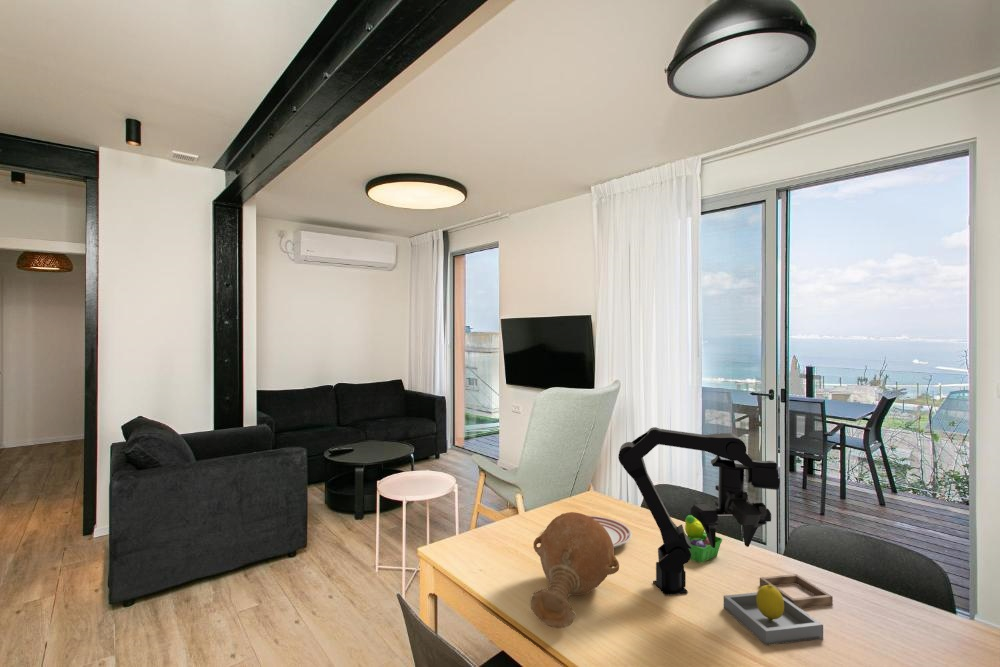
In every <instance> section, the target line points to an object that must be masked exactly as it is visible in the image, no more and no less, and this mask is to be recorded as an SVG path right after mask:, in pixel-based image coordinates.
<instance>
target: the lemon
mask: <svg viewBox="0 0 1000 667" xmlns="http://www.w3.org/2000/svg"><path fill="white" fill-rule="evenodd" d="M757 592H758V593H757V597H756V601H757V606H758V609H759V611H760V612H761V613H762V614H763V615H764V616H765V617H767V618H768V619H769V620H773V619H778V618H780V617H781V616H782V614H783V612H784V601H783V597H782V595H781V593H780V592H779V591H778V590H777V589H776V588H775V587H773V586H772V585H765V586H760V587H759V589H758V591H757Z"/></svg>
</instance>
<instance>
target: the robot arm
mask: <svg viewBox="0 0 1000 667" xmlns="http://www.w3.org/2000/svg"><path fill="white" fill-rule="evenodd" d="M658 445H660V446H667V447H675V448H681V449H688V450H696V451H703V452H705V453H709V454H712V455H714V456H715V458H713V459H712V460H710V464H711V466H712V467H715V468H716V467H717V468H718V485H717V484H716V485H715V488H714V489H715V490H716V491H718V492H717V494H718V498H717V499H718V500H715V502H714V505H715V506H716V507H717V508H713V507H711V506H709V505H707V503H698V504H696V503H695V504H693V505H691V507H690V515H692V516H693V517H695V518H696V519H697V520H698V521H699V522H700V523H701V524H702V526H703V528H704V532H705V533H706V535H707V537H708V540H709V542H710V545H711V547H713V548H715V544H716V537H717V536H716V534H717V533H716V529H717V527H718V526H719V524H718V523H717V521H718V520H719V519H718V518H721V517H722V518H724V517H725V518H726V517H729V518H730V517H734V518H735V520H736V522H737V523H738V524H739V525H740V526H742V537H743V544H744V546H745V547H746V548H748V547H750V545H751V543H752V540H753V538H754V536H755V534H756V531H757V530H758V529H759V528H760V527H761V526H765V525H766V524H767V523H769V522H772V513H771V511H770V509H769V508H767V506H766V504H765V503H763V502H752V501H751V502H750V501H749V495H748V491H745V483H748V484H749V485H750V487H751V488H756V489H762V490H763V489H764V490H774V491H779V488H780V483H781V478H780V476H779V470H778V463H777V462H776V461H774V460H755V459H753V458H752V457H751V456H750V455H749V454H747V446H746V443H745V442H744V441H743V440H742V439H741V438H740V437H739V436H738V435H736V434H734V433H732V432H730V433H729V432H726V433H720V432H719V433H711V434H702V433H701V434H700V433H693V432H685V431H679V430H670V429H664V428H658V426H657V427H655V426H654V427H653V426H652V427H651V428H649V429H648V430H647V431H645V432H644V433H643V434H641V435H639V436H638V437H637V438H636V439H634V440H632V441H628V442H625V443H623V444H622V445H621V446H620V448H619V451H618V456H617V457H618V462H619V463H620V465H621V466H622V467H623V468H624V470H625V471H626V472H627V474H628V475H629V477H631V479H632V480H634V482H635V484H636V486H637V488H638V489H639V492H640V494H641V496H642V498H643V500H644V501H645V503H646V506H647V508H648V509H649V512H650V513H651V515H652V517H653V519H654V522H655V523H656V524H657V528H658V529H659V531H660V535H661V538H662V541H663V544H661V545H660V546H659V547H658V548H657V556H658V558H657V559H658V561H656V562H655V580H653V581H652V582H653V585H654V586H655V587H656V588H657V589H658V590H659V591H660V593H662V594H663V595H665V596H673V595H682V594H688V593H689V591H688V590H687V589H686V584H687V582H686V579H687V578H686V576H687V575H686V573H687V572H686V570H685V565H687V564H688V563H689V562H690V561H691V559H690V558H691V552H690V549H691V544H690V539H689V537H688V535H687V533H686V531H685V528H684V525H683V524H680V525H678V526H677V525H676V524H675V522H674V520H672V518H671V515H670V514H669V511H668V510H667V508H666V506H665V505H664V502H663V500H662V499H661V496H660V494H659V492H658V491H657V489H656V487H655V485H654V483H653V481H652V479H651V477H650V475H649V473H648V470H647V466H646V463H645V460H644V457H645V456H646V455H648V454H649V453H650V452H651V451H652V450H653V449H654V448H656V447H657V446H658ZM722 458H723V459H722ZM736 462H739V463H736ZM745 481H746V482H745Z"/></svg>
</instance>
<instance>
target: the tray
mask: <svg viewBox="0 0 1000 667" xmlns="http://www.w3.org/2000/svg"><path fill="white" fill-rule="evenodd" d="M757 593H758V591H756V592H747V593H737V594H729V595H727V594H726V595H723V610H725V611H726V612H727V613H728V614H730V615H731V616H732V617H733V618H734V619H736V620H737V622H739V623H740V624H741V625H742V626H743V627H745V629H747V630H748V631H749V632H750V633H752V634H753V635H754V636H755V637H756V638H757V639H758V640H759V641H760V642H762V643H763V644H764V645H765V646H773V645H781V644H790V643H798V642H806V641H814V640H815V641H816V640H823V639H824V624H823V623H821V622H820V621H818V620H817V619H815V618H814V617H813V616H811V615H810V614H809V613H808V612H806V611H805V610H803V608H799V607H797V606H796V605H794V604H793V603H792V602H790V601H789V600H787V599H786V598H784V597H783V596H782V597H783V601H784V612H783V614H782V616H781V617H780V618H778V619H773V620H769V619H768V618H767V617H765V616H764V615H763V614H762V613H761V612H760V611H759V609H758V606H757V601H756V597H757Z"/></svg>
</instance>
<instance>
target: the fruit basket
mask: <svg viewBox="0 0 1000 667" xmlns="http://www.w3.org/2000/svg"><path fill="white" fill-rule="evenodd" d="M684 522H685V526H684V532H685V534H686V535H687V536H688V537H689V539H690V544H691V549H690V552H691V558H690V560H692V561H696V562H697V563H699V564H702V563H705V562H706V561H708V560H711V559H712V558H714V557H716V556H718V554H719V551H720V547H721V544H722V542H723V539H722V538H721V537H720V536H719V537H718V536H716V544H715V548H713V547H711V545H710V542H709V540H708V537H707V535H706V532H705V530H704V528H703V526H702V524H701V522H700V521H699V520H697V519H696V518H695V517H693V516H692V515H691V514H689V515H687V516H686V517H685V520H684Z"/></svg>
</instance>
